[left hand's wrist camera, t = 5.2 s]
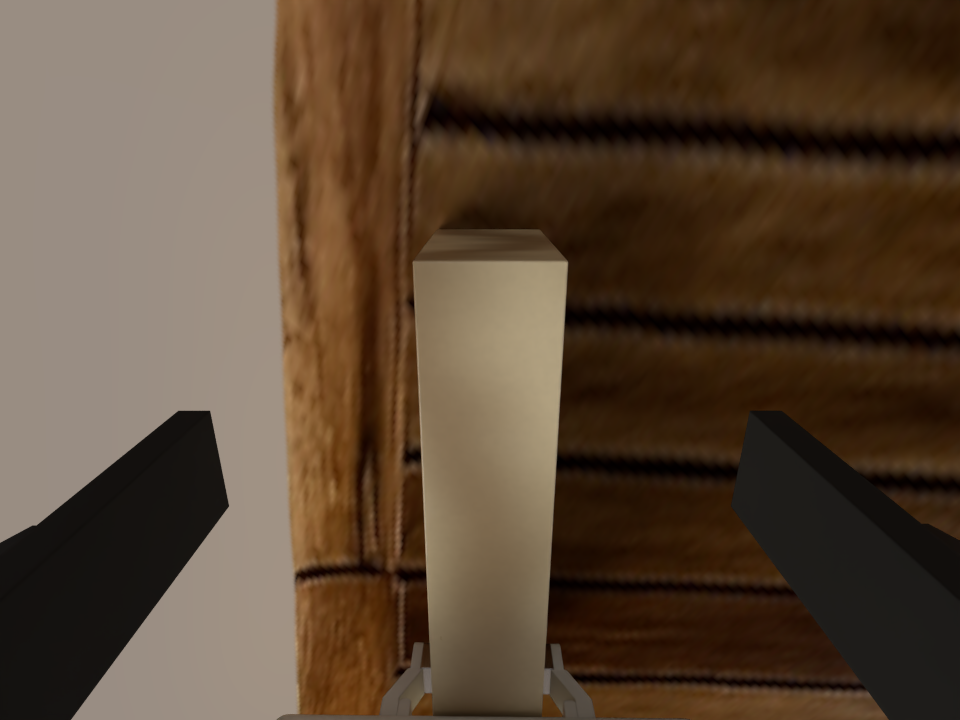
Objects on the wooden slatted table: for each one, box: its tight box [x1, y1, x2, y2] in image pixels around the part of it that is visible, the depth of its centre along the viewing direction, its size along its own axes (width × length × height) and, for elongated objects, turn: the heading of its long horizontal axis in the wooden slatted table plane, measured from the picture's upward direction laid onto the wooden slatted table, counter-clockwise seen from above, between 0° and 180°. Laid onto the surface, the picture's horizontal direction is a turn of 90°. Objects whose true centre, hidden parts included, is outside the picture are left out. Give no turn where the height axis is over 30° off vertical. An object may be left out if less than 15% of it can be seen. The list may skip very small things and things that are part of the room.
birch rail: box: [413, 229, 568, 717], centre depth 25 cm, size 5×26×9 cm, turn 0°
